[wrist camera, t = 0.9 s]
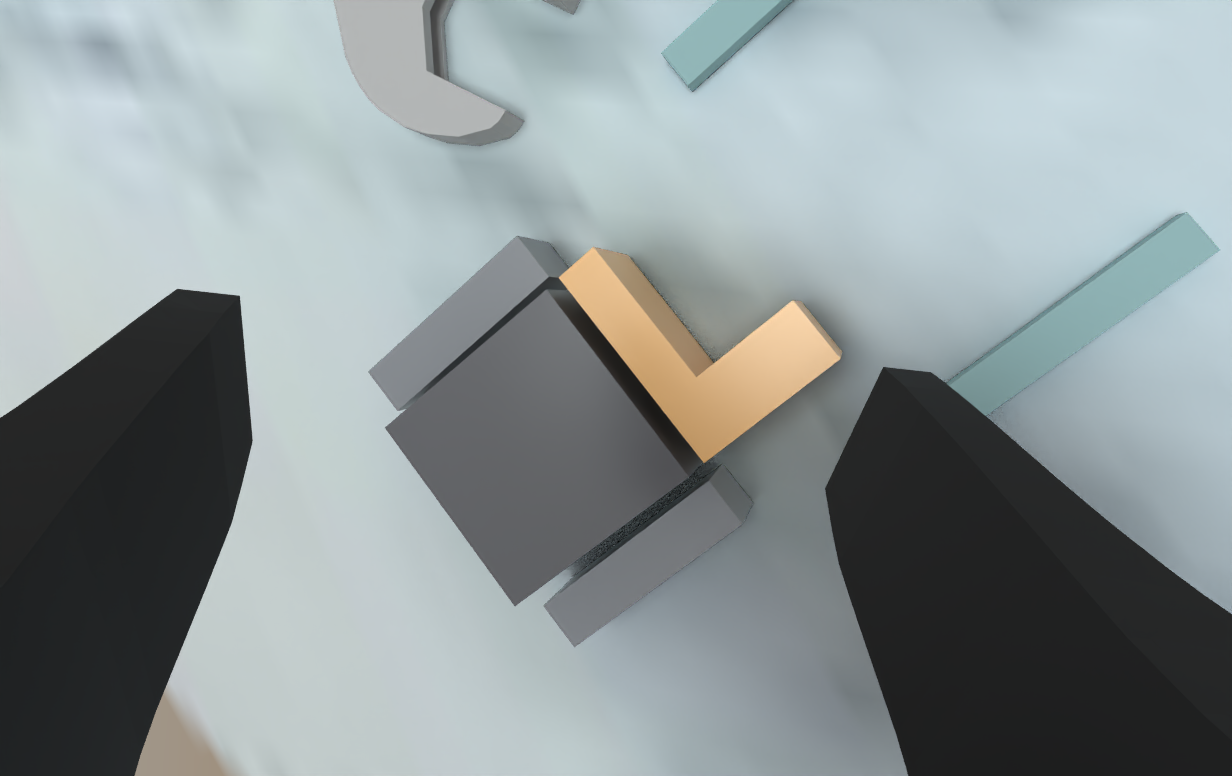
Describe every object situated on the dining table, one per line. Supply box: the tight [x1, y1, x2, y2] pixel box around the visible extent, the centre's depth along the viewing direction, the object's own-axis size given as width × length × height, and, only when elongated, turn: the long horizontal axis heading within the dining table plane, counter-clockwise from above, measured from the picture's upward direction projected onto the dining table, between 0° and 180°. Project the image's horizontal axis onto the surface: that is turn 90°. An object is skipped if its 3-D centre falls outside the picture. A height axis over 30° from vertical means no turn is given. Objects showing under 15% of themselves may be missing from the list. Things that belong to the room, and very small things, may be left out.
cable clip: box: [368, 236, 753, 647], centre depth 21 cm, size 8×5×2 cm, turn 40°
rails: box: [661, 0, 1220, 416], centre depth 19 cm, size 11×6×1 cm, turn 40°
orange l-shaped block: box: [559, 247, 842, 463], centre depth 20 cm, size 5×4×3 cm
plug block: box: [385, 289, 703, 606], centre depth 21 cm, size 5×5×4 cm
